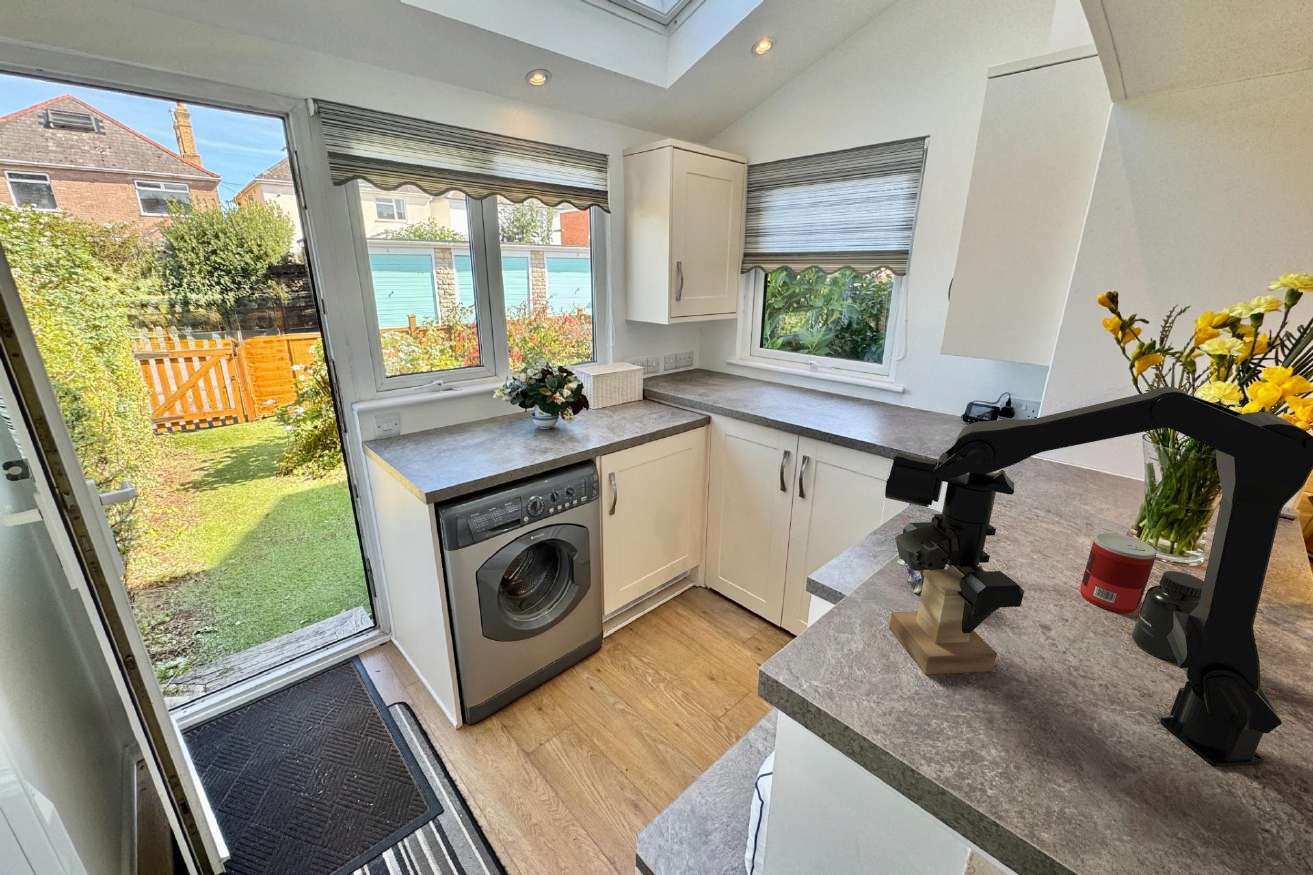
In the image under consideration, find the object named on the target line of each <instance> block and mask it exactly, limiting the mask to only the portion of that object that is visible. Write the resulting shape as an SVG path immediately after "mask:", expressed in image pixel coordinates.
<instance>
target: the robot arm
mask: <svg viewBox="0 0 1313 875" xmlns="http://www.w3.org/2000/svg"><path fill="white" fill-rule="evenodd" d="M1161 429H1170V430H1172V431H1175V432H1177V433H1179V434H1182V435H1184V436H1186V437H1188V438H1190V439H1193V440H1194V441H1196V442H1199V443H1201V444H1203V445H1206V446H1207V447H1210V448H1212V449H1214V450H1215V459H1216V461H1215V462H1216V467H1217V472H1218V478H1219V483H1220V488H1221V499H1220V503H1219V509H1218V514H1217V519H1216V523H1215V527H1214V531H1213V536H1212V541H1211V547H1210V550H1209V551H1210V552H1209V556H1208V560H1207V564H1206V570H1205V575H1204V579H1203V581H1204V583H1203V588H1202V593H1201V598H1200V602H1199V604H1198V606H1197V607H1196V608H1195V609H1194V610H1193V611H1192V612H1191V613H1190V614H1189V615H1188V614H1185V613H1182V612H1178V611H1174V612H1173V619H1174V626H1173V629H1172V631H1171V632H1170V633H1169V634H1168V635H1167V637H1168V640H1169V642H1170V644H1171V647H1172V649H1173V652H1174V654H1175V657H1176V659H1177V661H1178V662H1177V663H1178V666H1179V668H1180V669H1183V671H1184V673H1185V676H1186V677H1187V681H1186V682H1185V684H1184V687H1180V688H1178V692H1177V693H1176V696H1175V699H1174V702H1173V704H1172V706H1171V709H1170V711H1169V712H1170V713H1169V714H1170V716H1169V717H1168V716H1166V717H1160V719H1159V723H1160V724H1161V725H1162V726H1164V727H1165V728H1166V729H1167V730H1168V731H1170V732H1171V733H1172V734H1173V735H1175V736H1176V737H1177V738H1179V740H1181V741H1182V742H1183V743H1184V744H1185V745H1187V746H1188V747H1189V748H1190V749H1192V750H1193V751H1194V752H1195V753H1197V754H1198V755H1199V756H1200V757H1202V758H1203V759H1204V760H1205V761H1206V762H1207V763H1209V764H1211V765H1212V766H1214V767H1226V766H1245V765H1256V764H1257V765H1258V764H1263V763H1264V760H1265V758H1264V757H1263V756H1261V754H1260V755H1259V753H1257V748H1258V746H1259V744H1260V743H1261V740H1262V738H1263V736H1264V734H1269V733H1272V731H1274V730H1275V729H1276V728H1278V727H1279V726H1281V725H1282V723H1283V722H1282V719H1281V718H1280V716H1279V714H1278V713H1277V711H1276V710H1275V708H1274V706H1273V705H1272V703H1271V701H1270V700H1269V698H1268V696H1267V694H1266V693H1265V691H1264V689H1263V688H1262V686H1261V685H1262V683H1261V668H1260V667H1261V666H1260V664H1261V661H1260V656H1259V652H1258V647H1257V642H1256V637H1255V636H1256V635H1255V633H1254V624H1255V621H1256V616H1257V612H1258V608H1259V604H1260V599H1261V594H1262V591H1263V589H1264V588H1263V587H1264V583H1265V579H1266V575H1267V571H1268V567H1269V564H1270V563H1269V562H1270V559H1271V555H1272V551H1273V550H1272V549H1273V547H1274V543H1275V537H1276V534H1277V529H1278V527H1279V526H1278V525H1279V521H1280V517H1281V513H1282V510H1283V508H1284V507H1285V505H1287V503H1289V501H1290V500H1292V499H1293V498H1294V497H1295V495H1297V494H1298V492H1300V491H1301V490H1302V489H1303V487H1304V486H1305V484H1306V482H1307V481H1308V479H1309V477H1310V475H1311V473H1312V472H1313V435H1312V434H1310V433H1309V432H1308V431H1307V430H1305V429H1303V428H1301V427H1299V426H1297V425H1296V424H1294V423H1292V422H1290V421H1288V420H1287V419H1285V418H1282V417H1280V416H1277V415H1275V414H1273V413H1269V412H1263V411H1252V412H1244V413H1241V412H1239V411H1237V410H1233V409H1230V408H1228V407H1226V406H1224V405H1222V404H1221V405H1220V404H1218V403H1214V402H1211V401H1209V400H1205V399H1202V398H1200V397H1196V396H1193V395H1191V394H1188V393H1187V392H1185V391H1184V390H1182V389H1180V388H1178V387H1173V386H1168V385H1167V386H1159V387H1156V388H1153V389H1152V390H1149V391H1146V392H1143V393H1139V394H1135V395H1130V396H1126V397H1122V398H1117V399H1114V400H1109V401H1105V402H1100V403H1097V404H1091V405H1086V406H1084V407H1078V408H1075V409H1070V410H1065V411H1061V412H1057V413H1056V412H1055V413H1054V414H1053V413H1052V414H1048V415H1043V416H1040V417H1035V418H1030V419H1029V418H1028V419H996V420H995V419H994V420H987V421H986V420H985V421H976V422H972V423H970V424H967V425H965V426H964V427H963V428H962V429H961V431H960V432H959V433H958V434H957V437H956V439H955V442H954V444H953V445H952V446H951V447H950V448H948V449H947V450H946V451H945V452H942V453H941V455H940V456H939V458H938V459H937V460H933V459H928V458H923V457H918V456H912V455H909V454H906V453H903V452H896V453H895V455H894V456H893V461H892V464H891V468H890V471H889V476H888V478H887V479H886V482H885V491H884V497H885V498H886V499H888V500H894V501H897V502H902V503H907V504H910V505H916V506H919V507H925V508H929V506H932V505H933V502H935V503H936V502H937V503H939V502H940V497H941V492H942V487H943V483H944V482H945V483H947V485H946V491H945V494H944V501H943V506H942V511H941V513H935V514H934V515H933V516H932V517H931V520H930V521H926V522H924V521H922V522H909V523H908V524H907V525H905V526H904V527H903V529H902V533H900V534H898V535H896V536H895V538H894V539H895V544H896V548H897V549H896V550H897V553H898V556H899V558H901V559H902V560H903V561H904V562H906V563H907V564H908V566H909V567H910V568H911V569H912V570H915V571H920V573H921V579H922V584H923V582H924V577H925V576H924V575H923V571H924V570H930V571H931V570H937V569H944V568H945V566H946V564H948V565H949V566H954V567H955V568H957V569H958V570H959V571H960V572H961V573H963V574H964V576H963V577H962V578H961V580H960V589H961V592H957V593H958V595H959V596H960V597H961V598H962V599H963V600H964V609H963V617H962V632H963V633H971V632H972V631H973V630H974V631H975V629H977V627H979V626H980V625H981V624H982V623H983V622H984V621H985V620H986V619H987V618H988V617H990V616H991V615H992V614H993V613H995V612H996V611H997V610H1000V608H1021V606H1022V602H1023V600H1024V599H1023V598H1024V595H1025V590H1024V589H1023V588H1022V587H1021V585H1020V584H1018V583H1017V582H1016V581H1014V580H1013V579H1011V577H1009V576H1008V575H1006V574H1005V573H1004V572H1003V571H1001V570H991V571H990V570H989V571H988V570H987V571H985V570H984V569H981V568H980V567H979V566H980V565H979V564H981V563H982V564H984V563H986V564H987V563H989V562H990V559H991V558H990V557H991V555H990V554H988V553H987V552H985V551H984V549H985V544H986V541H987V536H989V537H990V536H996V531H997V528H996V527H994V526H993V525H991V524H990V523H991V517H992V514H993V513H992V512H993V509H994V504H995V499H996V495H997V493H1000V494H1005V495H1008V496H1009V495H1014V493H1015V482H1014V481H1013V480H1012V479H1011V478H1009V476H1008V475H1007V473H1006V471H1005V470H1004V469H1005V468H1009V467H1011V466H1014V465H1017V464H1018V463H1021V462H1022V461H1025V460H1027V459H1029V458H1031V457H1032V456H1035V455H1039V454H1041V453H1045V452H1049V451H1050V452H1051V451H1054V450H1060V449H1064V448H1069V447H1073V446H1078V445H1080V446H1081V445H1084V444H1090V443H1094V442H1099V441H1100V442H1101V441H1104V440H1105V441H1106V440H1110V439H1115V438H1120V437H1124V436H1129V435H1135V434H1139V433H1145V432H1151V431H1155V430H1161ZM997 471H998V472H997ZM994 472H996V473H994Z"/></svg>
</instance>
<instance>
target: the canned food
mask: <svg viewBox="0 0 1313 875" xmlns="http://www.w3.org/2000/svg"><path fill="white" fill-rule="evenodd" d="M1157 553H1158V552H1157V550H1156V548H1155V547H1153V546H1151V545H1150V544H1148V543H1146V542H1144V541H1142V540H1139V539H1136V538H1132V537H1130V536H1126V535H1121V534H1117V533H1115V534H1114V533H1098V534H1096V535H1095V537H1094V539H1093V542H1092V545H1091V549H1090V551H1089V555H1088V558H1087V563H1086V566H1085V569H1084V573H1083V577H1082V578H1081V579H1082V580H1081V582H1080V583H1081V584H1080V587H1079V589H1080V590H1079V591H1080V595H1081V596H1082V598H1084V599H1085V600H1086V601H1087V602H1089V603H1090V604H1092V605H1094V606H1096V607H1098V608H1102V609H1104V610H1107V611H1111V612H1114V613H1120V614H1122V613H1123V614H1130V613H1131V614H1132V613H1135V612H1136V611H1137V609H1138V608H1139V607H1141V606H1140V605H1141V602H1142V600H1143V596H1144V594H1145V591H1146V588H1147V585H1148V581H1149V578H1150V577H1151V576H1150V575H1151V572H1152V571H1153V567H1154V564H1155V561H1156V558H1157Z"/></svg>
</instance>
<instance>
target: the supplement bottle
mask: <svg viewBox="0 0 1313 875" xmlns="http://www.w3.org/2000/svg"><path fill="white" fill-rule="evenodd" d="M1203 583H1204V579H1201V578H1199V577H1197V576H1195V575H1192V574H1189V573H1186V572H1182V571H1178V570H1177V571H1175V570H1167V571H1164V572H1163V574H1162V575H1161V579H1160V580H1159V583H1158V584H1159V585H1154V586H1153V585H1152V586H1151V587H1149V588H1148V589H1147V591H1146V593H1145V595H1144V598H1143V601H1142V604H1141V606H1140V609H1139V612H1138V615H1137V618H1136V619H1135V620H1136V621H1135V623H1134V627H1133V629H1132V632H1131V638H1132V640H1133V642H1134V643H1135V645H1137V647H1139V648H1140V649H1142V650H1143V651H1144V652H1146V653H1148V654H1150V655H1152V656H1154V657H1156V658H1159V659H1162V660H1164V661H1169V662H1173V663H1174V662H1175V663H1178V661H1177V659H1176V657H1175V654H1174V652H1173V649H1172V647H1171V644H1170V642H1169V640H1168V637H1167V635H1168V634H1169V633H1170V632H1171V631H1172V629H1173V626H1174V619H1173V612H1174V611H1178V612H1182V613H1185V614H1188V615H1189V614H1190V613H1191V612H1192V611H1193V610H1194V609H1195V608H1196V607H1197V606H1198V604H1199V602H1200V598H1201V593H1202V588H1203Z"/></svg>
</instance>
